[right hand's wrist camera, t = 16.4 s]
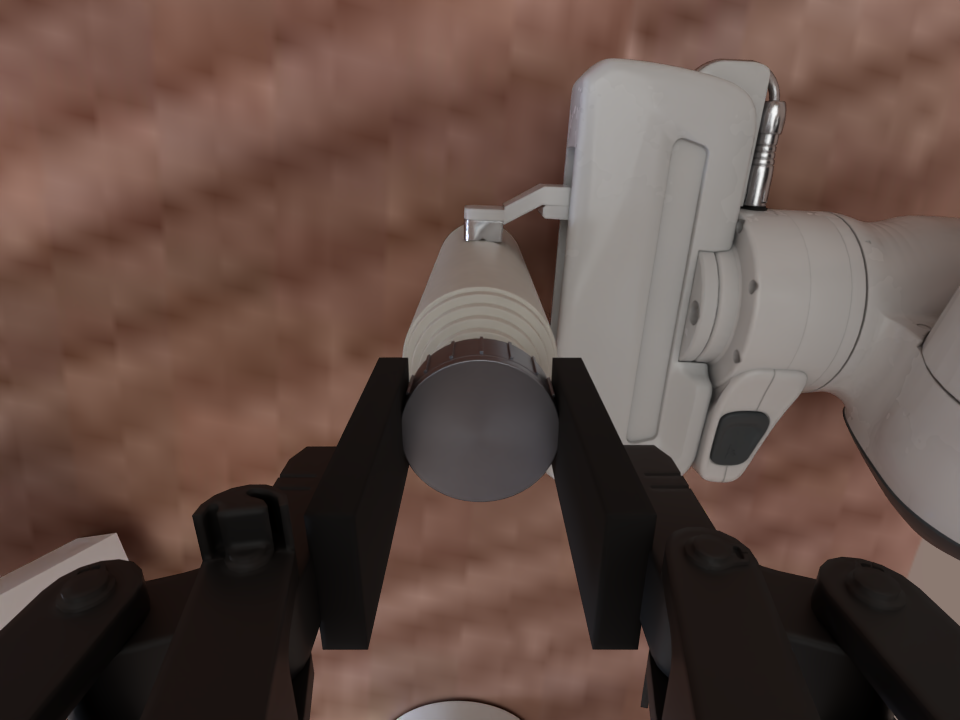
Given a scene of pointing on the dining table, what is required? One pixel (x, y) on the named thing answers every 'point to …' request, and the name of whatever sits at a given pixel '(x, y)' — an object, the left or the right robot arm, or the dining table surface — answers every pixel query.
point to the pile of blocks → (53, 571)
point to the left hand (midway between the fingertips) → (461, 289)
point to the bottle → (480, 302)
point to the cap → (480, 420)
